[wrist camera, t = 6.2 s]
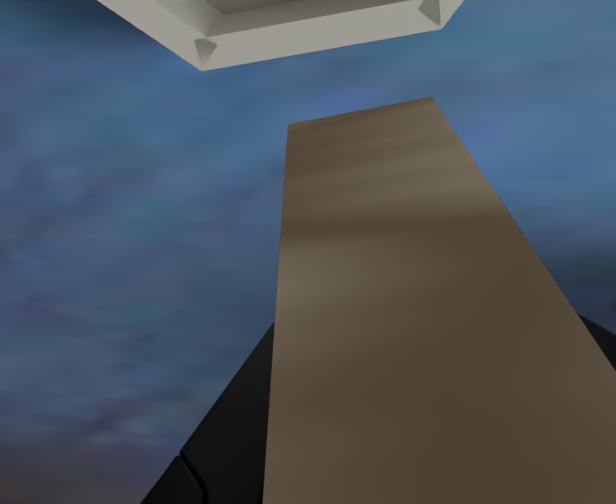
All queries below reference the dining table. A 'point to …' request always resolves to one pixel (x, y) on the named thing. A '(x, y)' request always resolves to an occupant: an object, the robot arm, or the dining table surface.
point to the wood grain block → (423, 332)
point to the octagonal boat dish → (275, 25)
